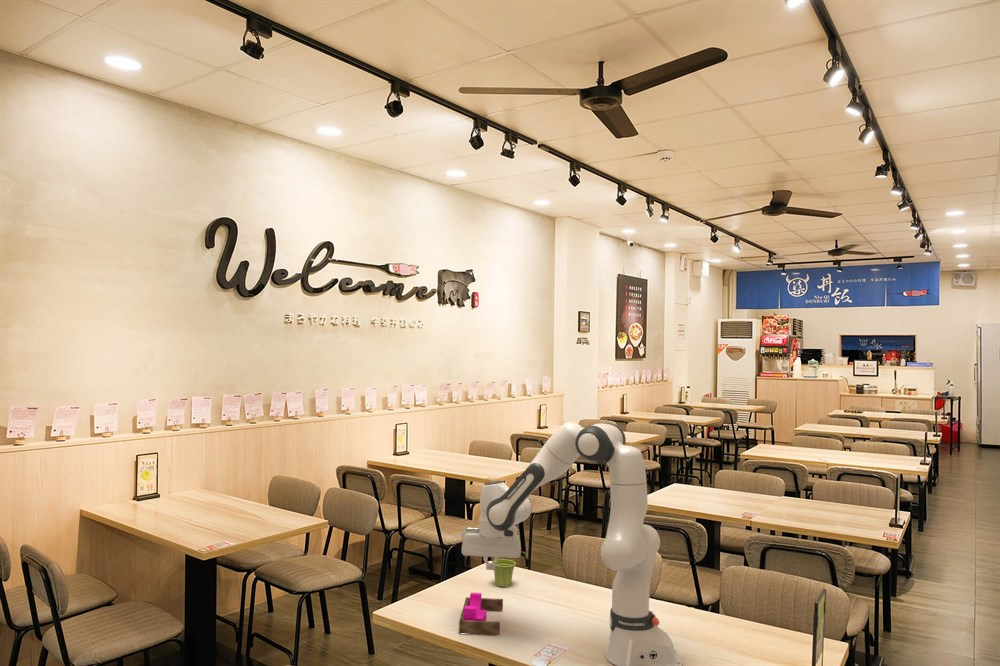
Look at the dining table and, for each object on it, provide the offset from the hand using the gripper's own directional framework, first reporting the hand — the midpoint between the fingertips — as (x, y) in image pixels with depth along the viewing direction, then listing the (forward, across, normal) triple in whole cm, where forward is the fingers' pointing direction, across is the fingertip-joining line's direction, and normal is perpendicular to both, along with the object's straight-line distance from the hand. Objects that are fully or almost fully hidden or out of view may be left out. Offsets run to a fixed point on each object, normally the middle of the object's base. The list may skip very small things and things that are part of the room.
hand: (490, 569), depth 228 cm
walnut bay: (+18, -2, 0) cm, 18 cm away
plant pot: (+18, +3, +37) cm, 41 cm away
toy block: (+18, -4, -2) cm, 19 cm away
